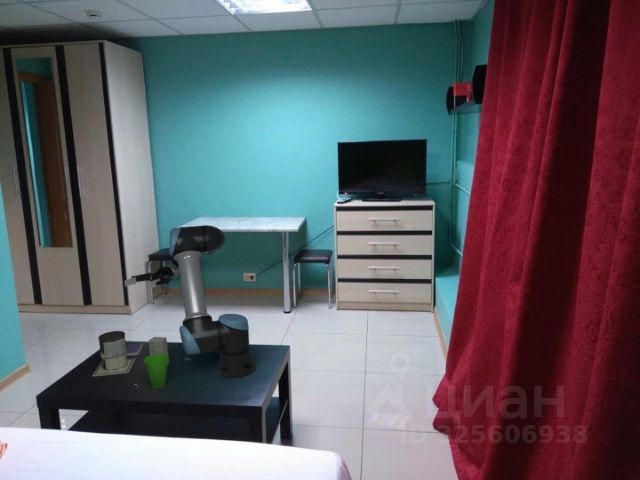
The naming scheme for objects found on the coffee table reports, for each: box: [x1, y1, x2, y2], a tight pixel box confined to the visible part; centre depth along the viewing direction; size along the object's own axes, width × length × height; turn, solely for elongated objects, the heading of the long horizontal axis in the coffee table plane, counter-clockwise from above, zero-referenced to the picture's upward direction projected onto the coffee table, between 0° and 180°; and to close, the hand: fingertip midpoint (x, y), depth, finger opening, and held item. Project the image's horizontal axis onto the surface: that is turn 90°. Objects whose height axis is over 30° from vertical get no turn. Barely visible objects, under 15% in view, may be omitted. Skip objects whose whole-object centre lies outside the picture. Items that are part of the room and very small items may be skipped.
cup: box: [143, 354, 170, 389], centre depth 179 cm, size 9×9×11 cm
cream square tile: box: [92, 357, 136, 377], centre depth 196 cm, size 14×14×1 cm
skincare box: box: [148, 336, 170, 366], centre depth 196 cm, size 6×4×12 cm
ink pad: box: [126, 343, 144, 357], centre depth 213 cm, size 11×11×1 cm
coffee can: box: [98, 330, 128, 372], centre depth 195 cm, size 10×10×14 cm
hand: (137, 284), depth 206 cm, fingers open, 13 cm apart
